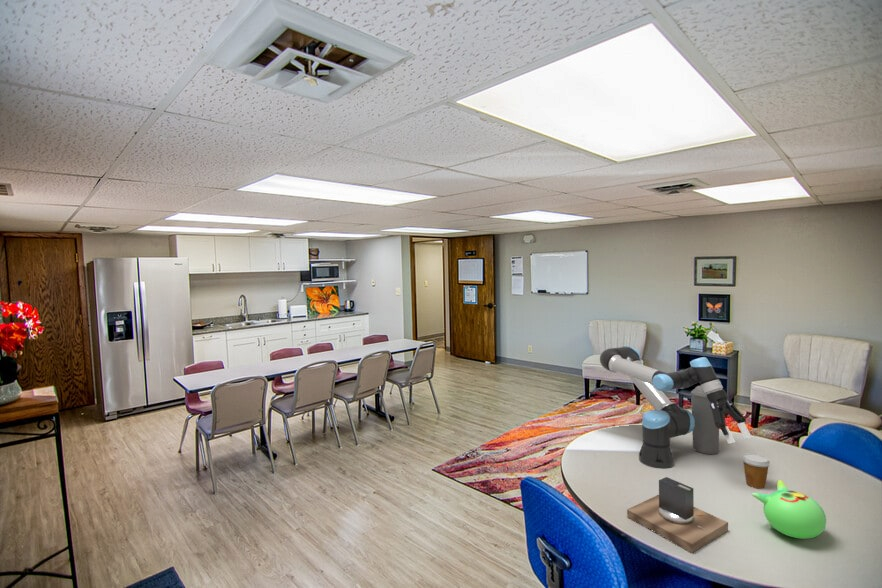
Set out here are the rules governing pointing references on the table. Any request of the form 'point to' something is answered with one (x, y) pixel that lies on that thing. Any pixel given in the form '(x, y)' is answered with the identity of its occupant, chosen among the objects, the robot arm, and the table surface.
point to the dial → (676, 501)
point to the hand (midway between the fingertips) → (740, 440)
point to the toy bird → (793, 512)
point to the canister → (703, 423)
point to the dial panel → (679, 525)
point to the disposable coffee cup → (755, 470)
